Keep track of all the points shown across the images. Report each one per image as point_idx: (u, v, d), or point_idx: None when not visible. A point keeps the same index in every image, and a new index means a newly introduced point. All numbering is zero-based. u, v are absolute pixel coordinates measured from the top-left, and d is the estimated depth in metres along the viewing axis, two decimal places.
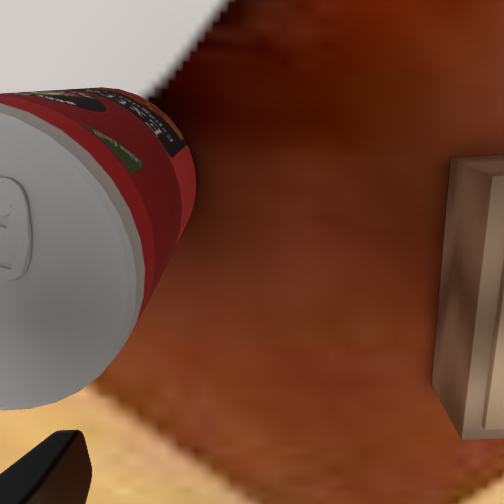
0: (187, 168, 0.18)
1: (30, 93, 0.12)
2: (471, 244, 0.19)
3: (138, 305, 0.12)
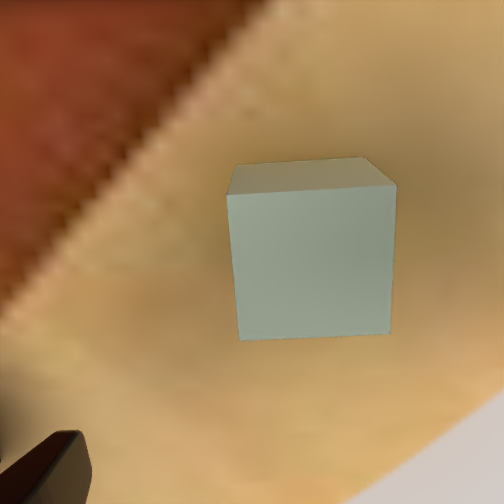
0: None
1: None
2: None
3: None
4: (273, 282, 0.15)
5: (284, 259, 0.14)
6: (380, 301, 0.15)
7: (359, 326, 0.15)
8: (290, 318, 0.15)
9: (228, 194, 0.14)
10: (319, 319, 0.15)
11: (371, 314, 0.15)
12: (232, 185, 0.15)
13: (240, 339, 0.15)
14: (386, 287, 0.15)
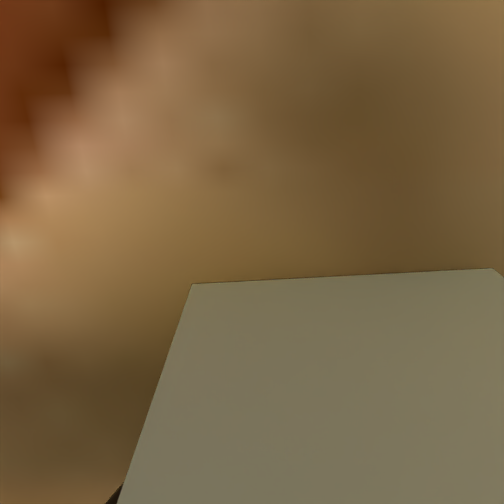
0: None
1: None
2: None
3: None
4: None
5: None
6: None
7: None
8: None
9: None
10: None
11: None
12: (146, 450, 0.04)
13: None
14: None
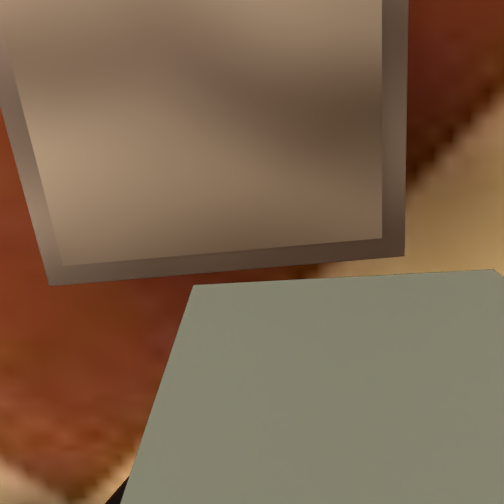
0: None
1: None
2: None
3: None
4: None
5: None
6: None
7: None
8: None
9: None
10: None
11: None
12: (148, 451, 0.04)
13: None
14: None
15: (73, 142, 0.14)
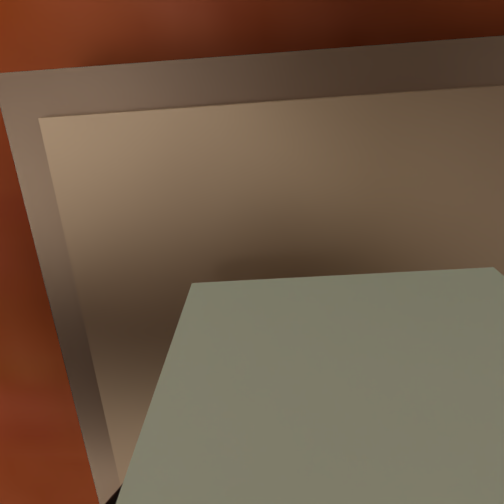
0: None
1: None
2: None
3: None
4: None
5: None
6: None
7: None
8: None
9: None
10: None
11: None
12: (145, 448, 0.04)
13: None
14: None
15: None
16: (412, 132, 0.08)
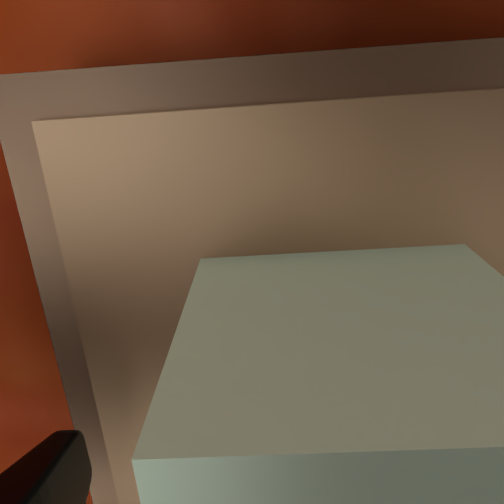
0: None
1: None
2: None
3: None
4: None
5: None
6: None
7: None
8: None
9: (140, 448, 0.04)
10: None
11: None
12: (169, 375, 0.05)
13: None
14: None
15: None
16: (415, 136, 0.08)
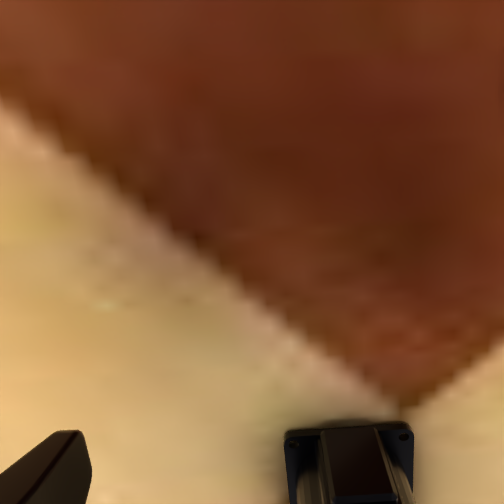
0: None
1: None
2: None
3: None
4: None
5: None
6: None
7: None
8: None
9: None
10: None
11: None
12: None
13: None
14: None
15: None
16: None
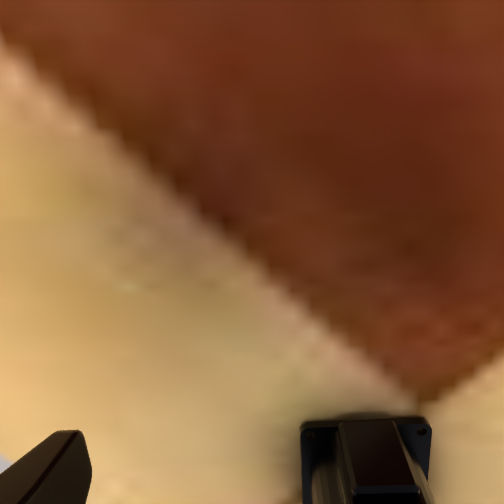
0: None
1: None
2: None
3: None
4: None
5: None
6: None
7: None
8: None
9: None
10: None
11: None
12: None
13: None
14: None
15: None
16: None
